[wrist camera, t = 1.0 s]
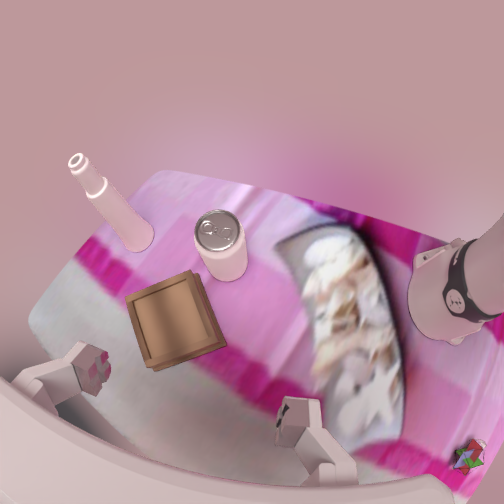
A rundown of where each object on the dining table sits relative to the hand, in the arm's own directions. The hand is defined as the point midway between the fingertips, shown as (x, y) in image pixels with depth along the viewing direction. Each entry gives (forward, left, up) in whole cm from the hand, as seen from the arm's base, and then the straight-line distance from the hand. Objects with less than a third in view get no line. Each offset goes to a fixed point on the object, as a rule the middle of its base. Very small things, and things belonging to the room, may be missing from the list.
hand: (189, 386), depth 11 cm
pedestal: (+6, -10, -30) cm, 32 cm away
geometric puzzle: (-29, +38, -30) cm, 56 cm away
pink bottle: (+8, -27, -30) cm, 41 cm away
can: (-5, -16, -30) cm, 34 cm away
